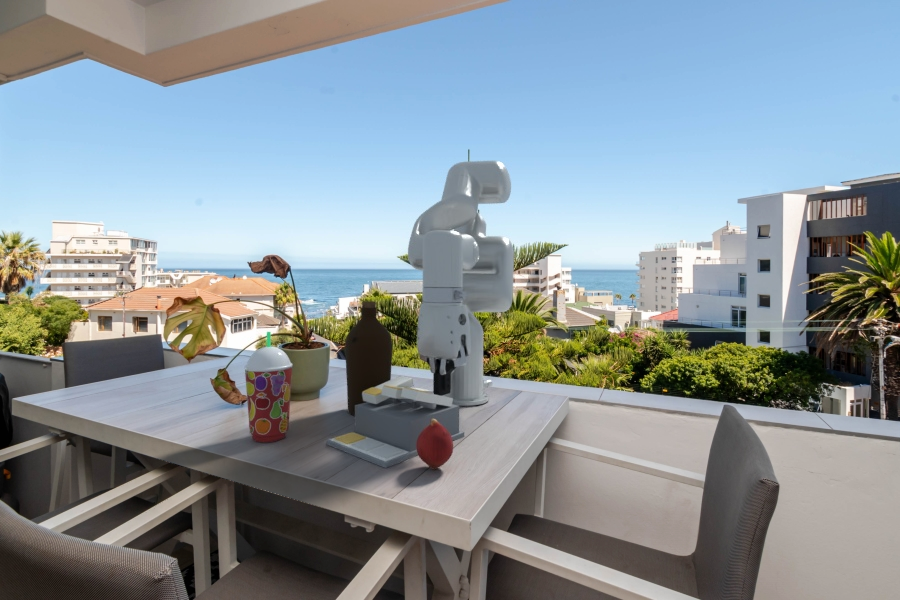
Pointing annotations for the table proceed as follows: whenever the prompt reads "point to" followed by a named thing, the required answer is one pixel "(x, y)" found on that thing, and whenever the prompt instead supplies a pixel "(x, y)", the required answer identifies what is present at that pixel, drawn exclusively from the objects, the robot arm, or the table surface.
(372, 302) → the olive oil
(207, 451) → the table surface
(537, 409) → the table surface
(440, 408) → the switch unit
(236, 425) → the table surface
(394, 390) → the rocker
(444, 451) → the onion
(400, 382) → the rocker
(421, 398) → the rocker
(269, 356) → the smoothie
